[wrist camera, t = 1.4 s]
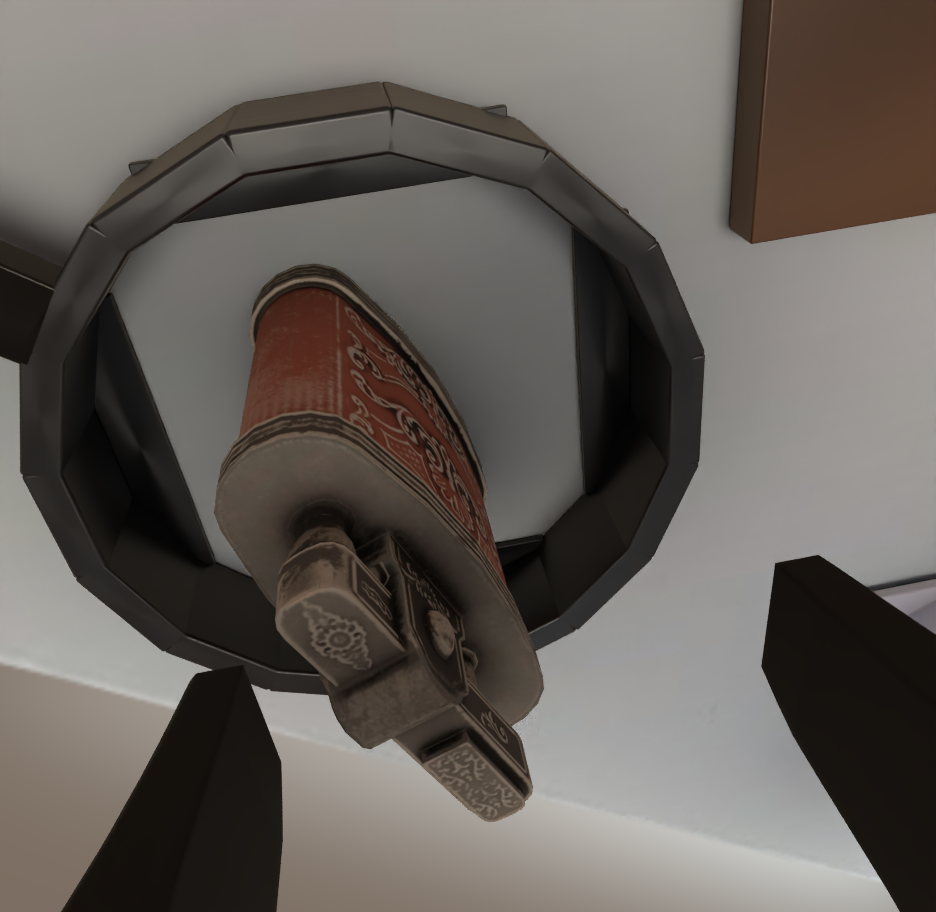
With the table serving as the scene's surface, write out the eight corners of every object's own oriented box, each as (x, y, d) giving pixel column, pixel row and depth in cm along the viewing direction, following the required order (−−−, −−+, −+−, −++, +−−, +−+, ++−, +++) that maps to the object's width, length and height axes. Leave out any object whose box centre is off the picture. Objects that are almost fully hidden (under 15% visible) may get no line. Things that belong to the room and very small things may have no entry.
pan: (654, 567, 25) (691, 637, 22) (-65, 705, 23) (-112, 797, 21) (666, -226, 14) (739, -261, 12) (-629, -54, 13) (-859, -53, 10)
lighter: (216, 313, 18) (123, 625, 10) (340, 233, 18) (351, 495, 9) (405, 537, 22) (451, 887, 14) (509, 480, 22) (620, 808, 14)
